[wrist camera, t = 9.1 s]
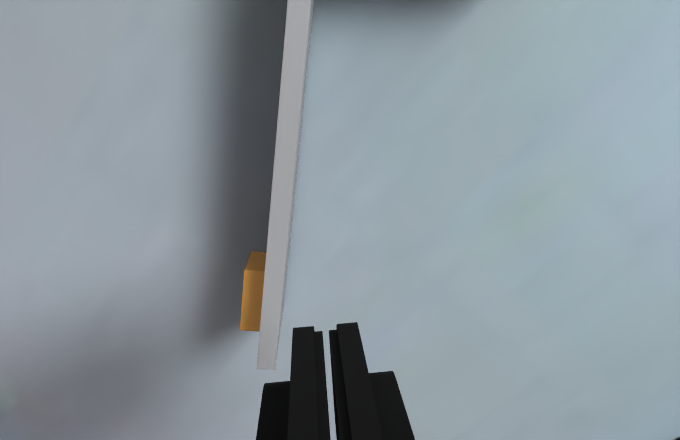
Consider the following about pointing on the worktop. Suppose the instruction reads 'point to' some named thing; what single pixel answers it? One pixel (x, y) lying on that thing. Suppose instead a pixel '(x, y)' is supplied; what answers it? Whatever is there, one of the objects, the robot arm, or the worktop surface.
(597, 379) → the worktop surface
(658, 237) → the worktop surface
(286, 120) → the door
